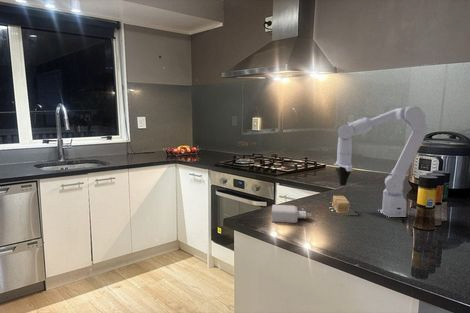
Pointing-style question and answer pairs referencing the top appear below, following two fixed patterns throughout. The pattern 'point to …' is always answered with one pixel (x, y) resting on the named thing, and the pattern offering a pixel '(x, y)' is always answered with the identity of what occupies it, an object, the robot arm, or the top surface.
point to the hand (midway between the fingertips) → (342, 185)
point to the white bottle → (287, 214)
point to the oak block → (340, 204)
